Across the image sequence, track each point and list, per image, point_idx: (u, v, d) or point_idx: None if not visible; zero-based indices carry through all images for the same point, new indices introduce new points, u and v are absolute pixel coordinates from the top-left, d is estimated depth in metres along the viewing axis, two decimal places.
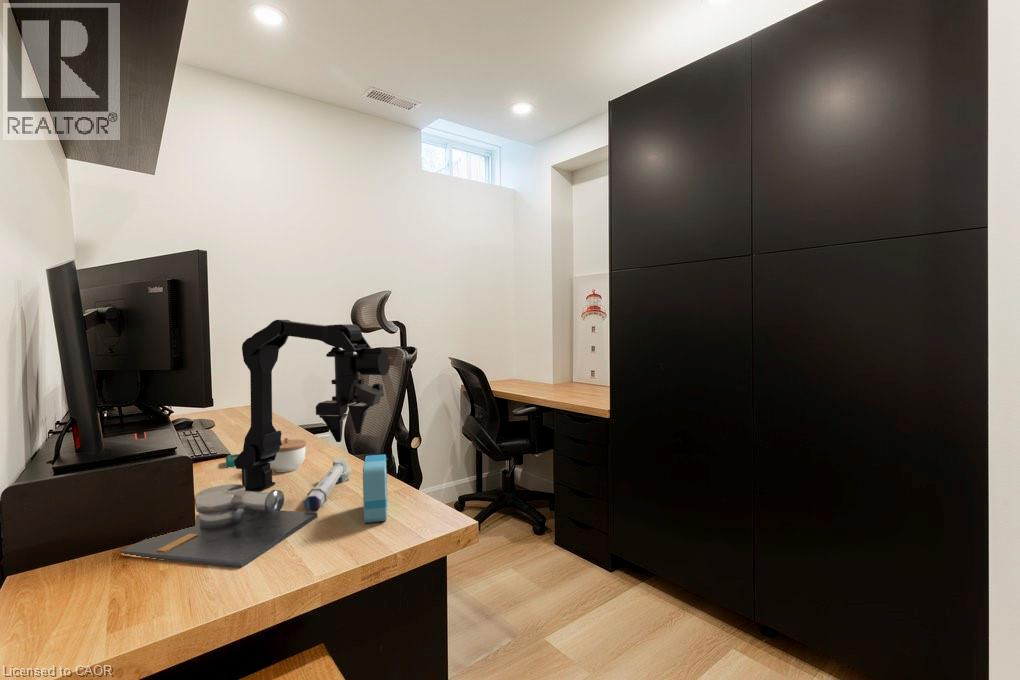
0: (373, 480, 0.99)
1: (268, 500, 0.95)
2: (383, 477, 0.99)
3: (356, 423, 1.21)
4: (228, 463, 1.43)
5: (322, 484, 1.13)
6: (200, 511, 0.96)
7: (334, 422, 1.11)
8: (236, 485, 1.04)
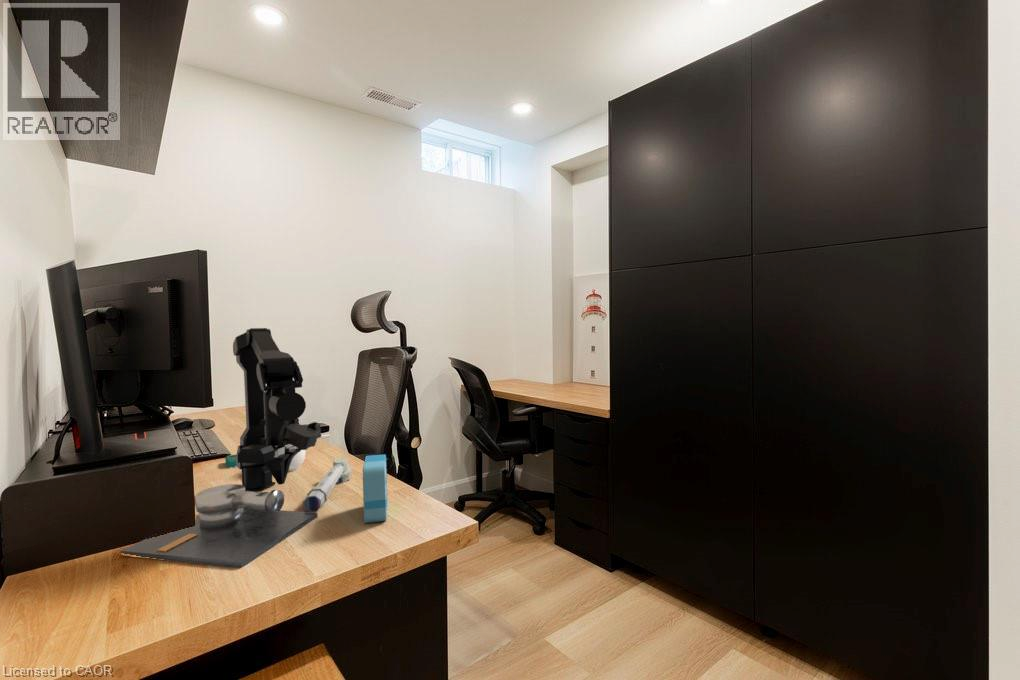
0: (373, 480, 0.99)
1: (268, 500, 0.95)
2: (383, 477, 0.99)
3: None
4: (228, 463, 1.43)
5: (322, 484, 1.13)
6: (200, 511, 0.96)
7: (275, 463, 1.03)
8: (236, 485, 1.04)
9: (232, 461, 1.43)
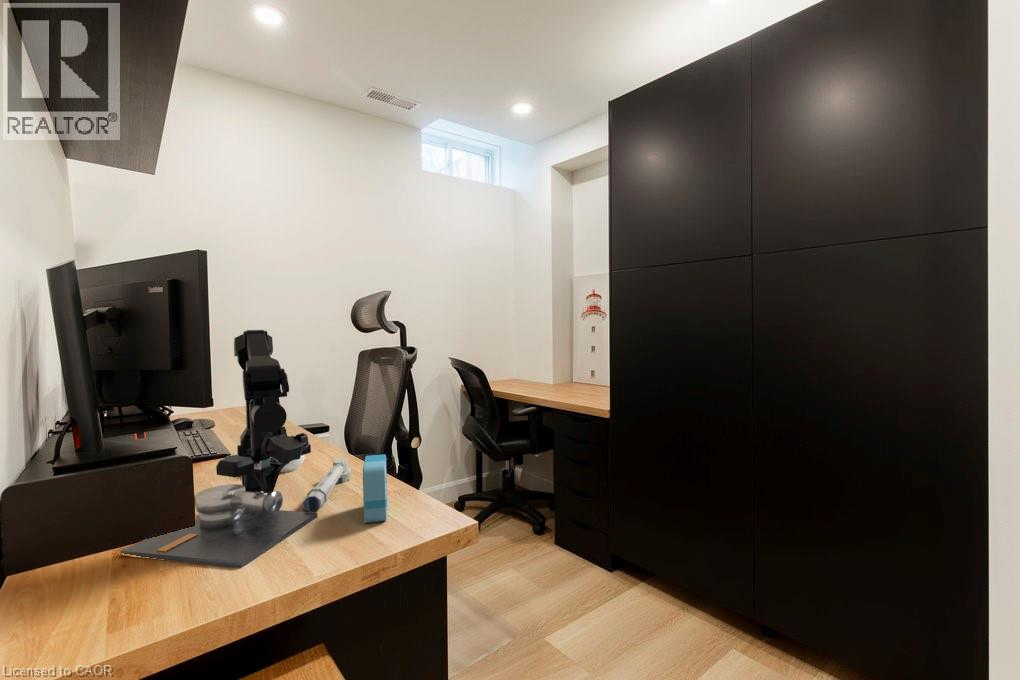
0: (372, 480, 0.99)
1: (266, 501, 0.95)
2: (383, 477, 0.99)
3: None
4: None
5: (322, 484, 1.13)
6: (200, 511, 0.96)
7: (261, 475, 0.98)
8: (236, 485, 1.04)
9: None
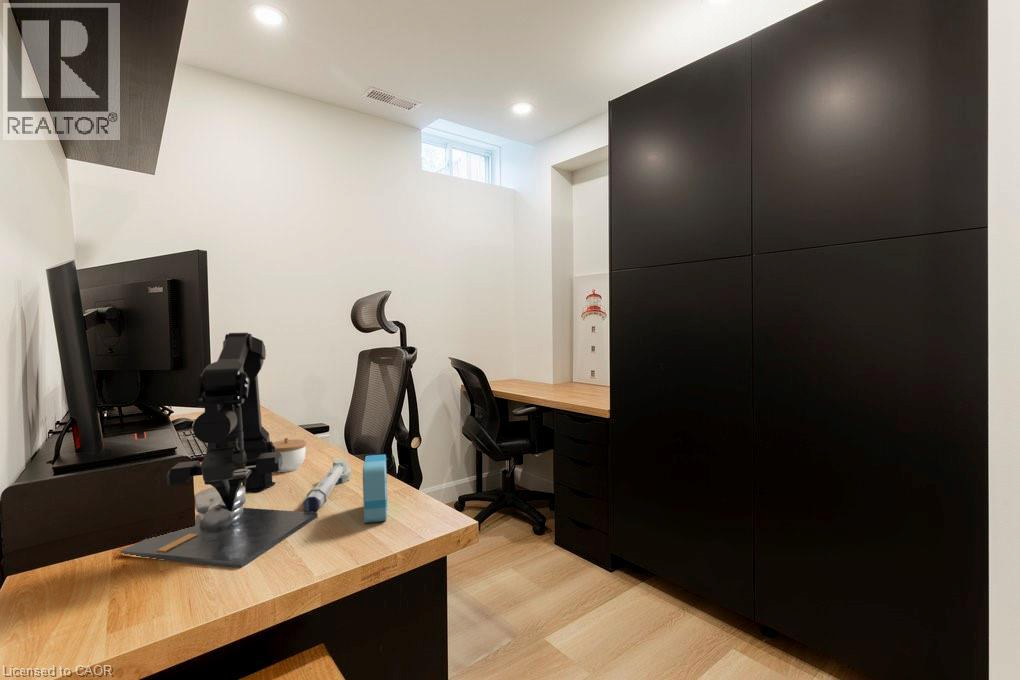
0: (372, 480, 0.99)
1: None
2: (383, 477, 0.99)
3: None
4: None
5: (322, 485, 1.13)
6: None
7: None
8: (242, 488, 1.02)
9: None
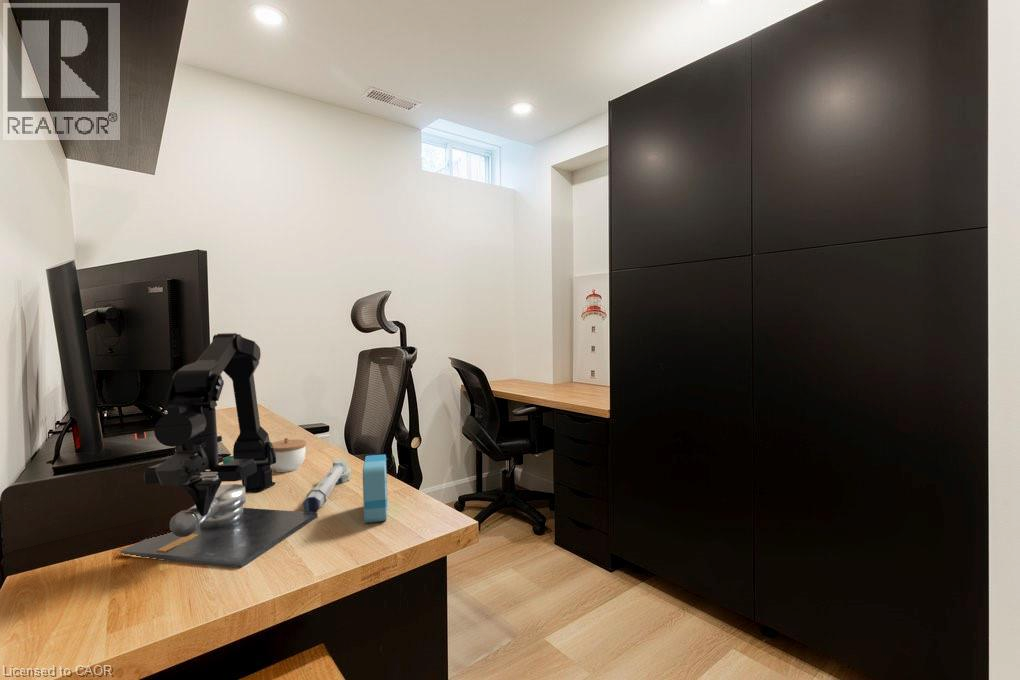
0: (372, 480, 0.99)
1: None
2: (383, 477, 0.99)
3: None
4: None
5: (322, 485, 1.12)
6: None
7: None
8: (240, 490, 1.00)
9: None
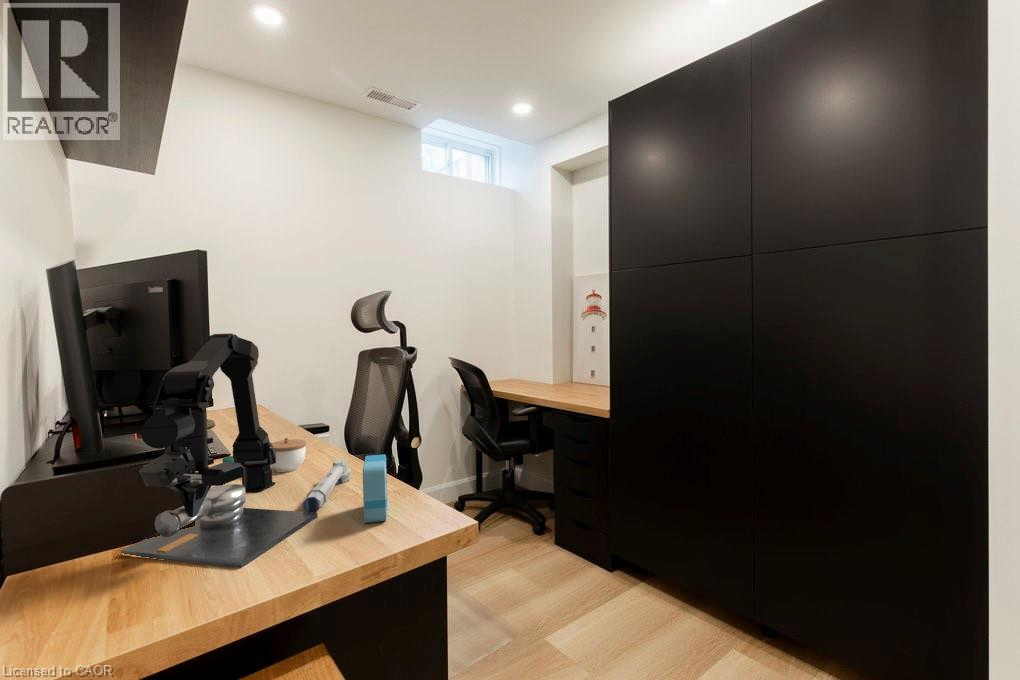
0: (373, 480, 0.99)
1: None
2: (383, 477, 0.99)
3: None
4: None
5: (322, 485, 1.12)
6: None
7: None
8: (237, 492, 0.99)
9: None
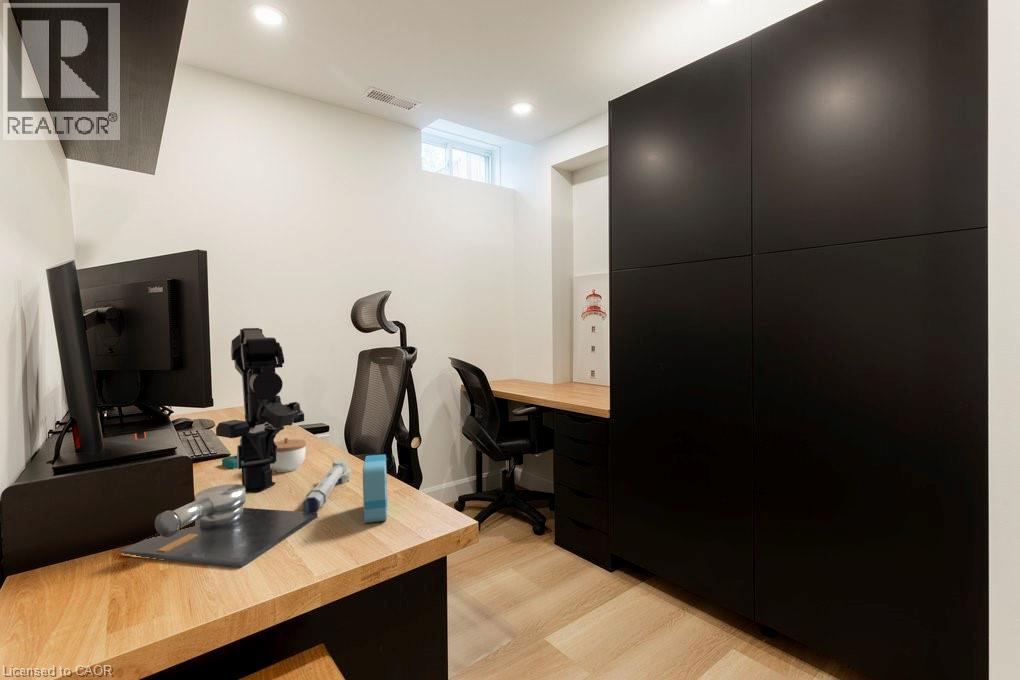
0: (372, 480, 0.99)
1: None
2: (383, 477, 0.99)
3: None
4: (233, 464, 1.42)
5: (321, 485, 1.12)
6: None
7: (257, 439, 1.08)
8: (237, 492, 0.99)
9: (236, 462, 1.42)
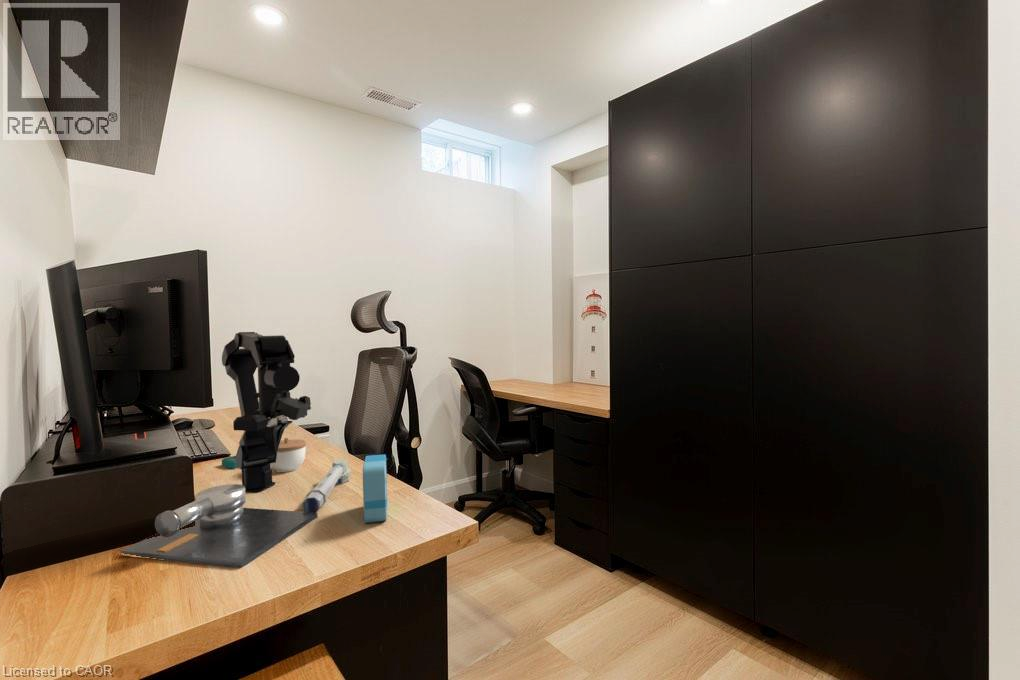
0: (372, 480, 0.99)
1: None
2: (383, 477, 0.99)
3: None
4: (234, 464, 1.42)
5: (321, 485, 1.12)
6: None
7: (268, 433, 1.12)
8: (237, 492, 0.99)
9: None
